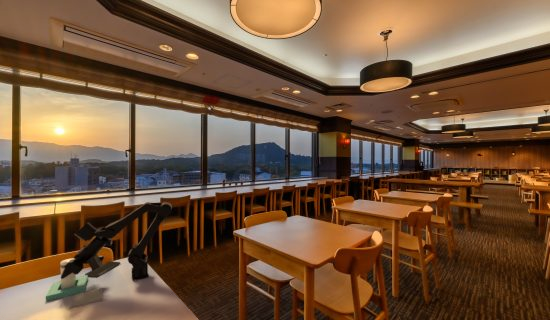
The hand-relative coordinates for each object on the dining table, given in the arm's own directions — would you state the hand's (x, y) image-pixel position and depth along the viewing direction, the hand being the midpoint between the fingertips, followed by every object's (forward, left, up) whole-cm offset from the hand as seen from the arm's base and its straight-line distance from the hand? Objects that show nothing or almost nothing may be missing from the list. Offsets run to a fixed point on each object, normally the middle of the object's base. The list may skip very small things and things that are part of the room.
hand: (64, 275), depth 105 cm
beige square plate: (-9, +13, -7) cm, 17 cm away
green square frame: (-1, 0, -7) cm, 7 cm away
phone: (-13, -14, -7) cm, 21 cm away
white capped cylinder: (-1, 0, -7) cm, 7 cm away
